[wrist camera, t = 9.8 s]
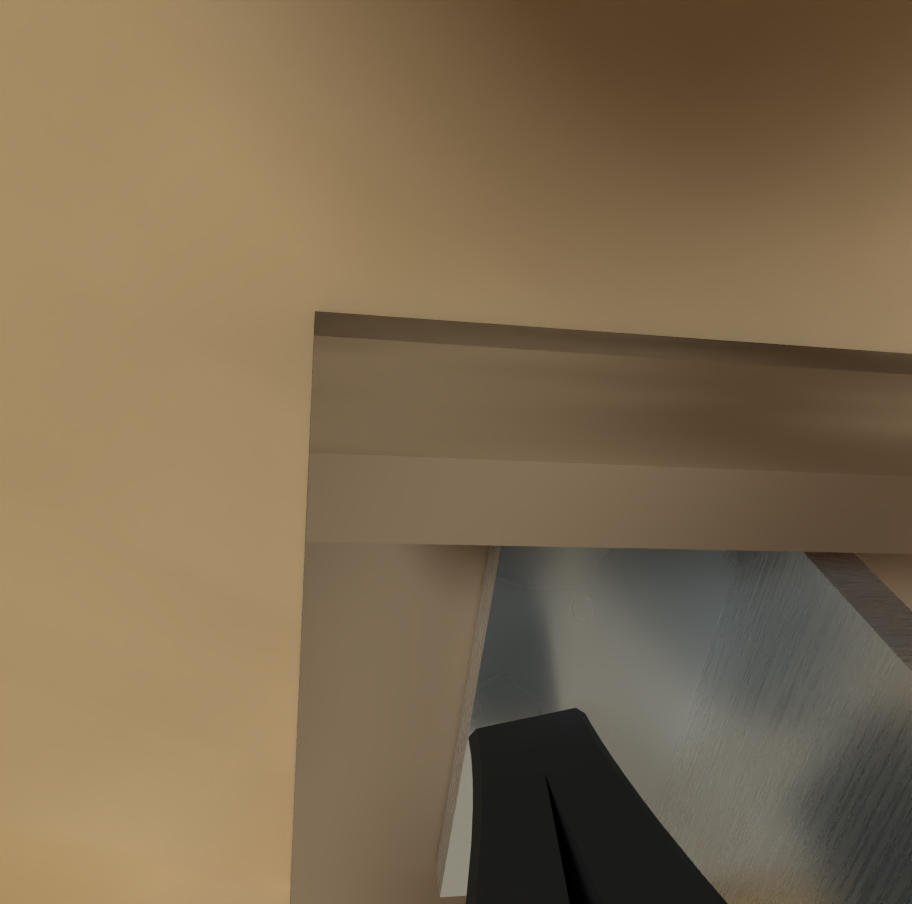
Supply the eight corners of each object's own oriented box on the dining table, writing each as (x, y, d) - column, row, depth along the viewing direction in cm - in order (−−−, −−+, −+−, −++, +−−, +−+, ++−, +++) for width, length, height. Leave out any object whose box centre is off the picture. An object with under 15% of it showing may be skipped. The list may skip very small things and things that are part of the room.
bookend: (783, 483, 10) (1140, 839, 6) (653, 855, 13) (817, 1269, 9) (501, 472, 9) (657, 867, 5) (436, 866, 12) (495, 1320, 8)
